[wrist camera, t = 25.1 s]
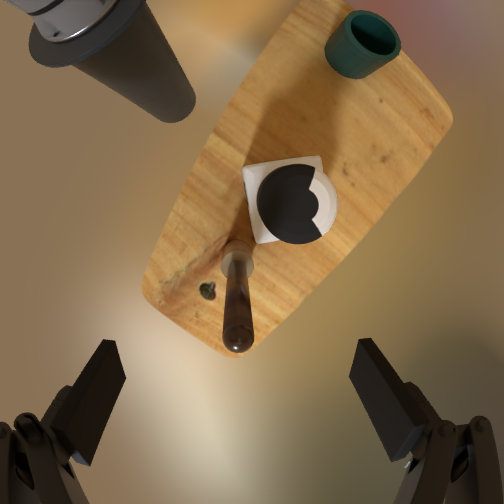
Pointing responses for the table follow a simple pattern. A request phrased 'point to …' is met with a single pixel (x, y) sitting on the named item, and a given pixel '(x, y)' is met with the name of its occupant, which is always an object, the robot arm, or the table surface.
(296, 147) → the table surface
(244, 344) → the brush
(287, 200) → the container
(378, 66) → the cup
